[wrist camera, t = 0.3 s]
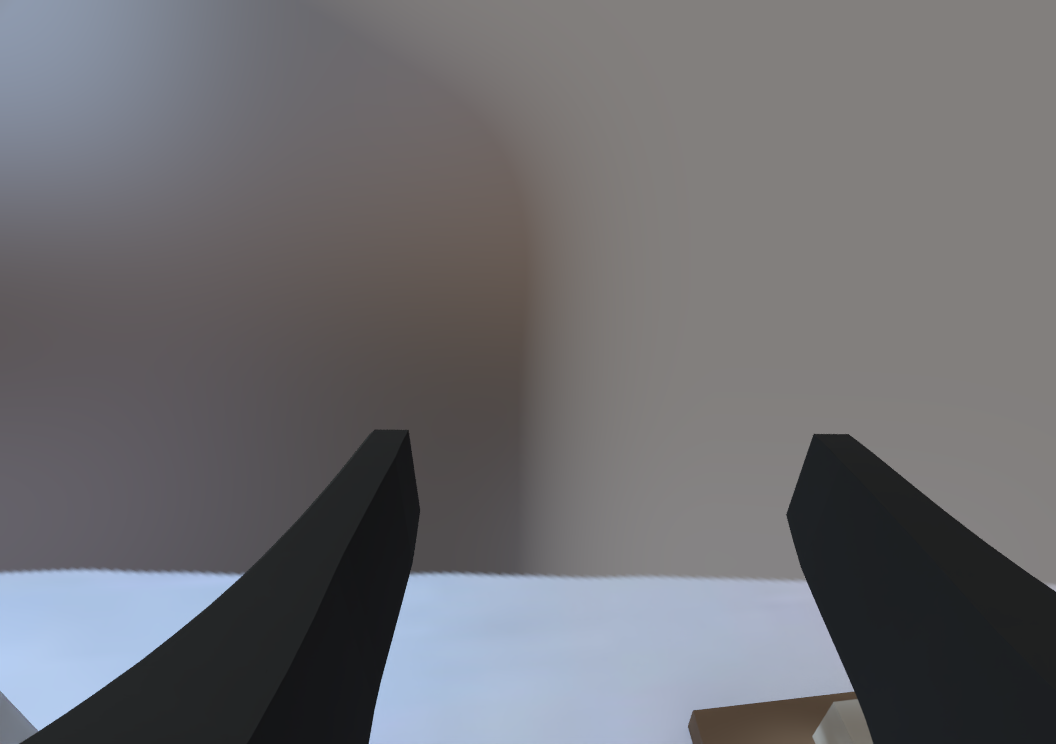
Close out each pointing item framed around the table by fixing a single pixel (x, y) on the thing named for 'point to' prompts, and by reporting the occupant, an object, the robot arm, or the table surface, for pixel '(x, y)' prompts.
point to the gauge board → (784, 722)
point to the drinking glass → (13, 723)
